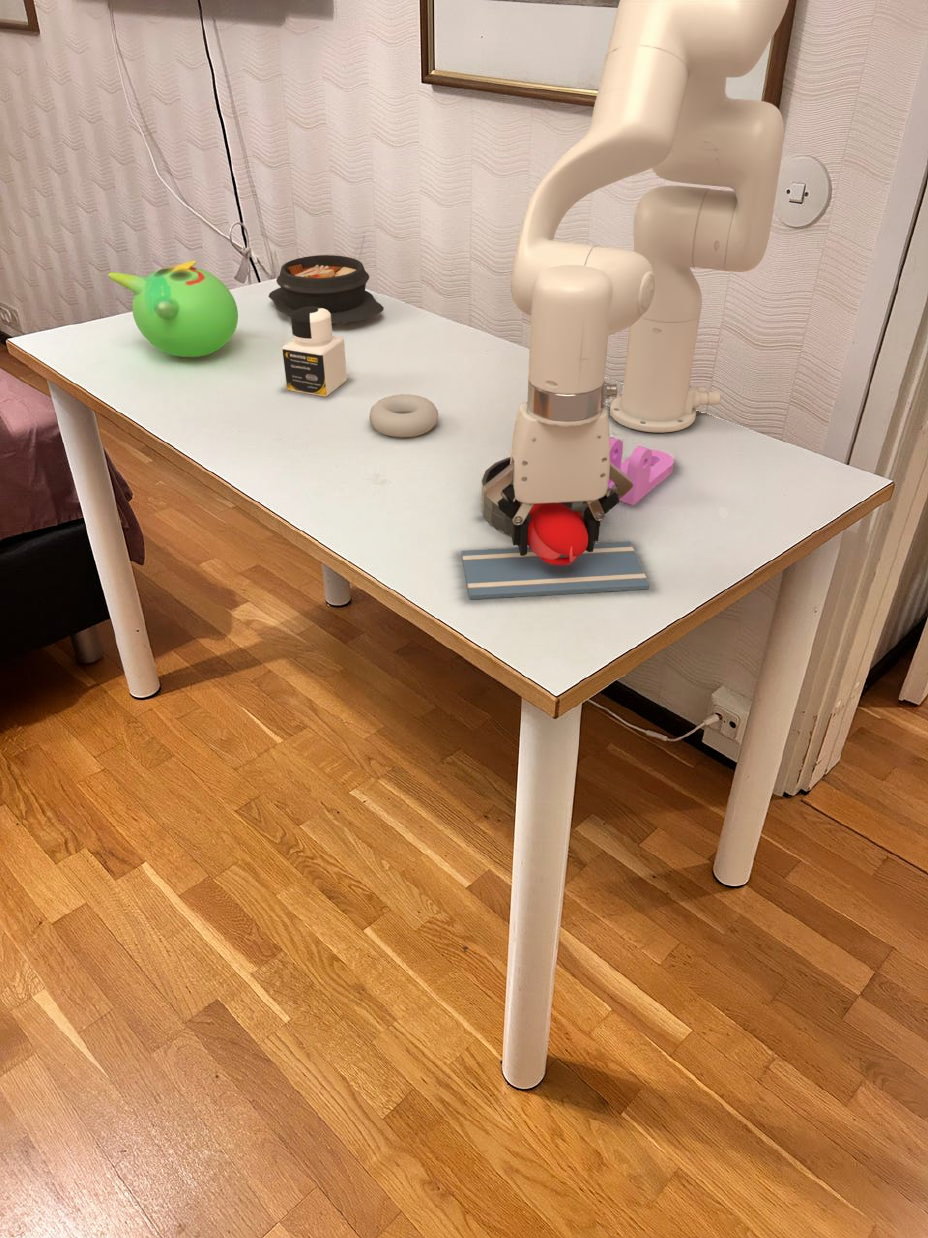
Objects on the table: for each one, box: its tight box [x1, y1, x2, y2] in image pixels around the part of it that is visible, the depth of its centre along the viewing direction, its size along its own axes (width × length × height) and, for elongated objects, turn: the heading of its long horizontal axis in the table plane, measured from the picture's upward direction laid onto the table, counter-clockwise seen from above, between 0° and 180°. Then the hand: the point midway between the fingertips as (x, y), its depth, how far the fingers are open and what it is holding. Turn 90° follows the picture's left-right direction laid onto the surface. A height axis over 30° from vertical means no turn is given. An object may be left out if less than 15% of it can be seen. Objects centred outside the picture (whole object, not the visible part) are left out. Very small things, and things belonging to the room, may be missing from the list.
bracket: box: [608, 436, 675, 506], centre depth 122 cm, size 13×6×7 cm, turn 143°
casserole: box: [268, 254, 385, 325], centre depth 173 cm, size 25×19×8 cm
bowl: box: [481, 456, 588, 536], centre depth 116 cm, size 15×15×4 cm
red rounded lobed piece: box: [527, 503, 588, 565], centre depth 103 cm, size 8×6×6 cm
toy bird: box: [107, 260, 239, 358], centre depth 155 cm, size 18×17×15 cm
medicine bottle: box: [281, 306, 348, 398], centre depth 145 cm, size 7×7×12 cm
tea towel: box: [461, 541, 650, 601], centre depth 106 cm, size 20×9×1 cm, turn 96°
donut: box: [368, 393, 439, 438], centre depth 136 cm, size 10×4×10 cm
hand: (554, 546), depth 104 cm, fingers closed on red rounded lobed piece, 6 cm apart
